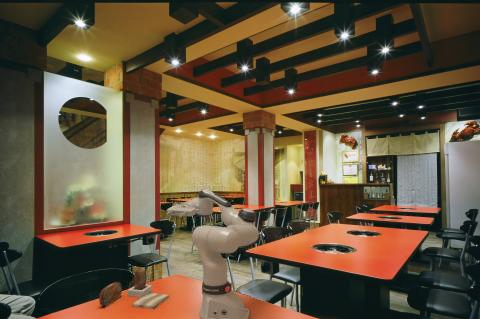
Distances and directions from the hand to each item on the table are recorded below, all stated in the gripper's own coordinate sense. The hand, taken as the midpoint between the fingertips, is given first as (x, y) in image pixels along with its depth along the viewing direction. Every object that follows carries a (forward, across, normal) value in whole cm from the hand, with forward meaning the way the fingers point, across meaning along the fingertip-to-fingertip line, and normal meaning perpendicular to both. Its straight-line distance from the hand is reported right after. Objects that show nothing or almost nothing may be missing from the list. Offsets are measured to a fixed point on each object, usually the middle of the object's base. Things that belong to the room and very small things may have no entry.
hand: (173, 215), depth 174 cm
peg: (+30, +3, -34) cm, 45 cm away
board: (+35, -11, -33) cm, 49 cm away
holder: (+30, +3, -34) cm, 45 cm away
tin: (+45, +8, -31) cm, 55 cm away
